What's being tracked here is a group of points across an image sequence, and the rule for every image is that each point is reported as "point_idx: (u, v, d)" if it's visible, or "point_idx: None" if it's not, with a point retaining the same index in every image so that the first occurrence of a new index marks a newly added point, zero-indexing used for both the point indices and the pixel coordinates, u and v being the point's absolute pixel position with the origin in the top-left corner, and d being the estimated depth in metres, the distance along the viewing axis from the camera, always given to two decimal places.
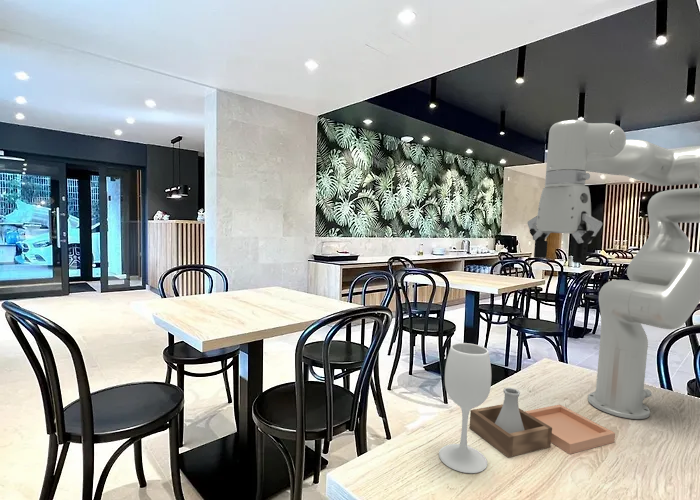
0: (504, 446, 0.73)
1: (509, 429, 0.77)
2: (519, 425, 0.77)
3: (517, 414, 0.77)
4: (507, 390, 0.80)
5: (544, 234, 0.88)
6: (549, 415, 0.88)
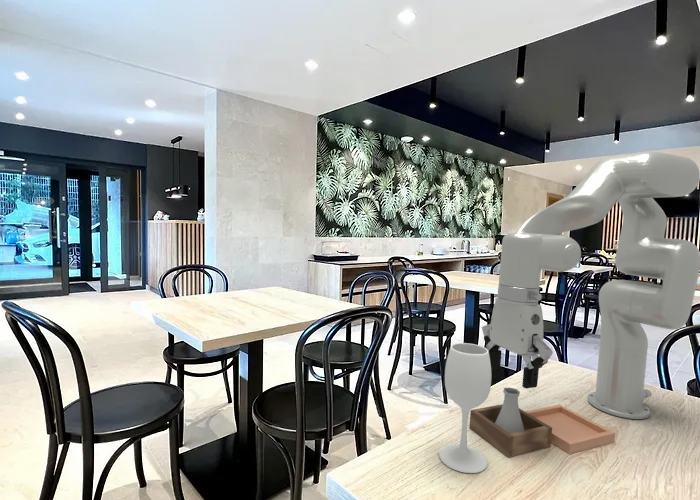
0: (504, 446, 0.73)
1: (509, 429, 0.77)
2: (519, 425, 0.77)
3: (517, 414, 0.77)
4: (507, 390, 0.80)
5: None
6: (549, 415, 0.88)
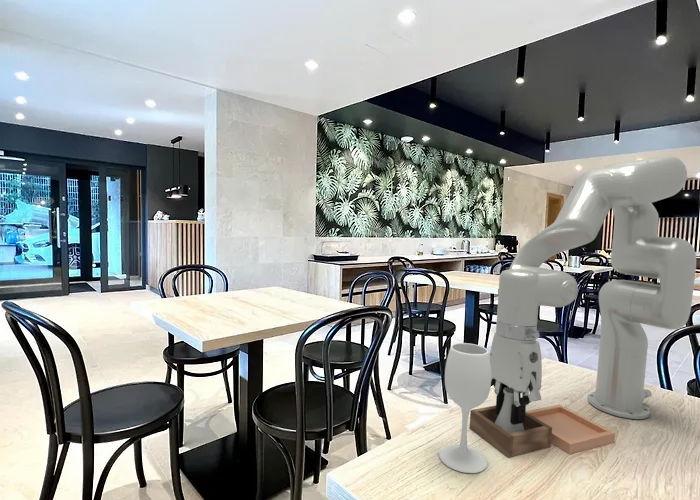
0: (504, 446, 0.73)
1: (509, 428, 0.77)
2: (519, 425, 0.77)
3: None
4: (507, 390, 0.80)
5: (505, 385, 0.81)
6: (549, 415, 0.88)
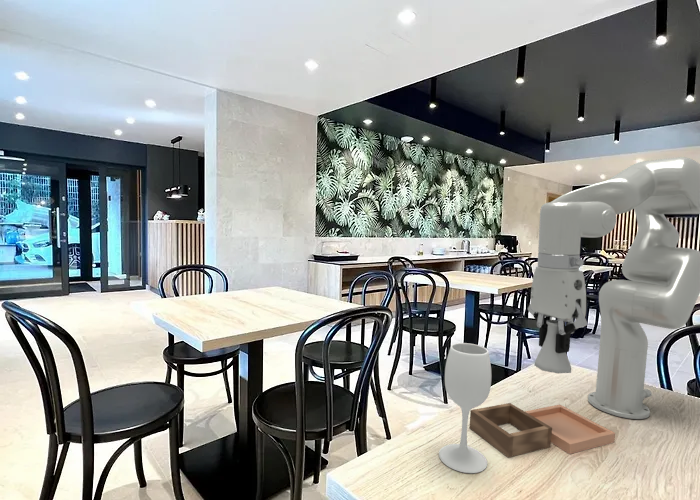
0: (504, 446, 0.73)
1: (554, 357, 0.78)
2: (564, 354, 0.78)
3: None
4: (550, 322, 0.81)
5: (547, 319, 0.83)
6: (549, 415, 0.88)
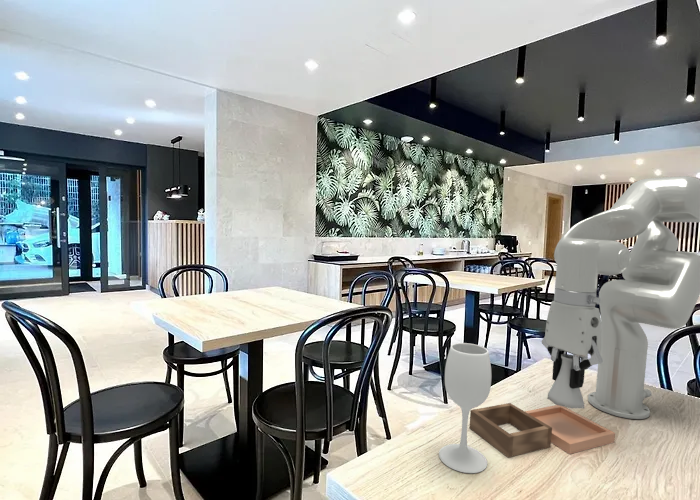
0: (504, 446, 0.73)
1: (568, 392, 0.80)
2: (577, 389, 0.80)
3: None
4: (564, 356, 0.83)
5: (561, 353, 0.84)
6: (549, 415, 0.88)
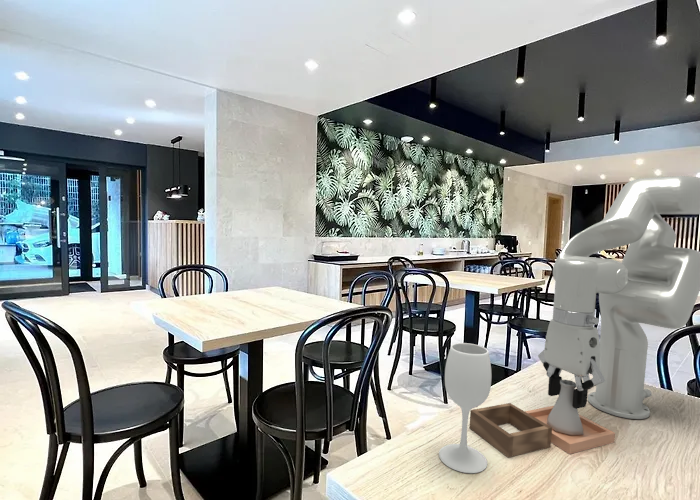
0: (504, 446, 0.73)
1: (567, 419, 0.80)
2: (576, 415, 0.80)
3: None
4: (563, 382, 0.83)
5: (557, 369, 0.85)
6: None
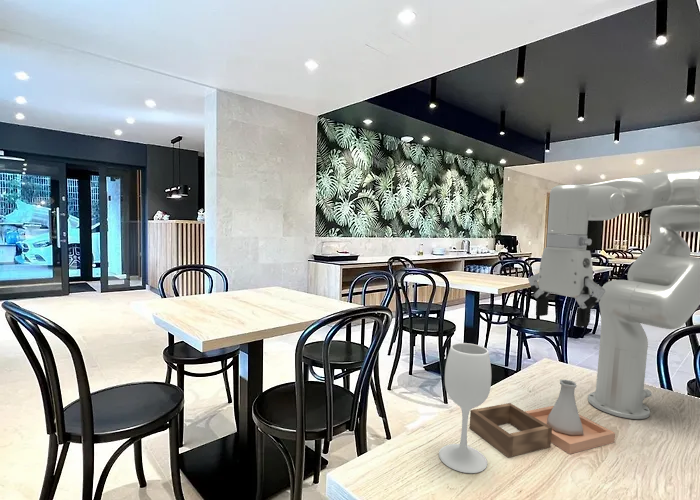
0: (504, 446, 0.73)
1: (567, 419, 0.80)
2: (576, 415, 0.80)
3: (574, 405, 0.81)
4: (563, 382, 0.83)
5: (545, 292, 0.89)
6: None
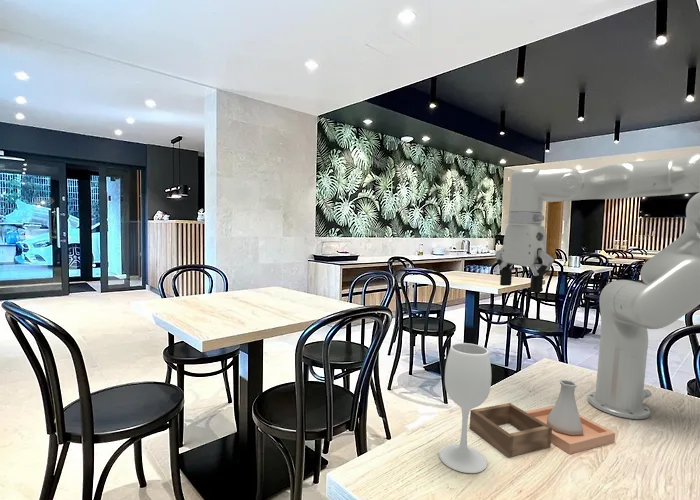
0: (504, 446, 0.73)
1: (567, 419, 0.80)
2: (576, 415, 0.80)
3: (574, 405, 0.81)
4: (563, 382, 0.83)
5: (509, 264, 1.00)
6: None
